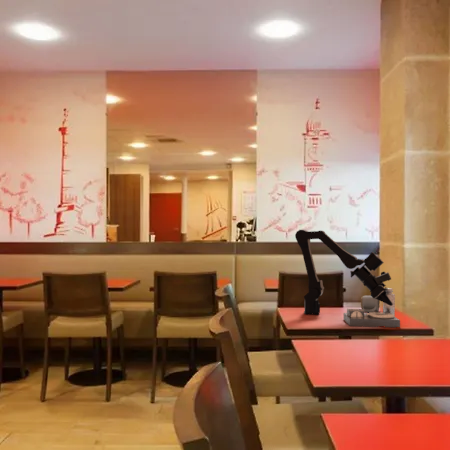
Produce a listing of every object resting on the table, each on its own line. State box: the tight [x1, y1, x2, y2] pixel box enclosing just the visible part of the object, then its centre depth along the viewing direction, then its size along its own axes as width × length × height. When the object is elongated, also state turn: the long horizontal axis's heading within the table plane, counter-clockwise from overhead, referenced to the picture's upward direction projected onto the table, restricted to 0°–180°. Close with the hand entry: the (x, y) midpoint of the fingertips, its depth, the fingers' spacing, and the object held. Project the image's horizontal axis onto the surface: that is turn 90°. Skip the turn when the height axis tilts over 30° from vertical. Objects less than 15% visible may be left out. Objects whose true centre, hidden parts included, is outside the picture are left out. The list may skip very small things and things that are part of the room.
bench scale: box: [343, 308, 401, 328], centre depth 211 cm, size 20×15×6 cm
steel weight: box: [382, 287, 396, 317], centre depth 223 cm, size 5×5×14 cm
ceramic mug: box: [360, 295, 380, 313], centre depth 245 cm, size 11×8×8 cm
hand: (392, 304), depth 222 cm, fingers closed on steel weight, 5 cm apart
